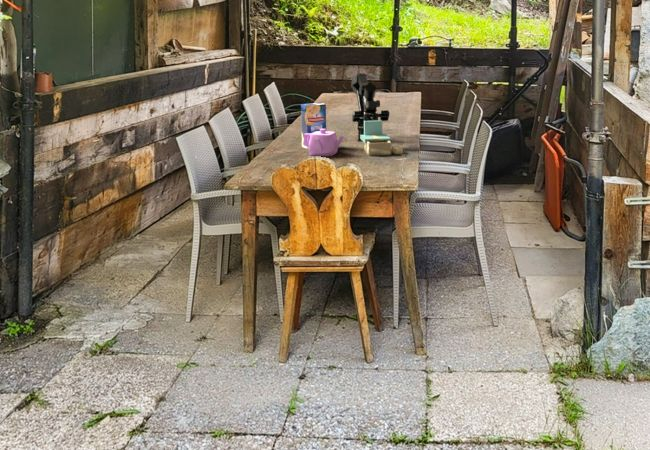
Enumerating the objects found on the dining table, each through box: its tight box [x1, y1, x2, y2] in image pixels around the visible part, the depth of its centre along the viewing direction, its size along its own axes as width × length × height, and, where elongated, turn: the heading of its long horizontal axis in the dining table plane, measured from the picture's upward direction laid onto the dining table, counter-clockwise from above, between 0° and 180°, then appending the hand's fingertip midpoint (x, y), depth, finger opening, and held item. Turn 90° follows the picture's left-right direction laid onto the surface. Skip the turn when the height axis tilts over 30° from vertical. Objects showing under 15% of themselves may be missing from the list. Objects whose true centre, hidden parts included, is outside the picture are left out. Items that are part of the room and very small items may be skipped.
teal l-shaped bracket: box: [360, 119, 392, 143], centre depth 422 cm, size 14×13×9 cm
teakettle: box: [303, 128, 346, 157], centre depth 417 cm, size 17×17×12 cm
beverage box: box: [300, 102, 327, 149], centre depth 436 cm, size 7×11×22 cm, turn 118°
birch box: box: [363, 140, 392, 157], centre depth 417 cm, size 14×11×6 cm
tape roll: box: [392, 145, 404, 155], centre depth 417 cm, size 5×5×3 cm
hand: (372, 129), depth 429 cm, fingers closed, pressing on teal l-shaped bracket
